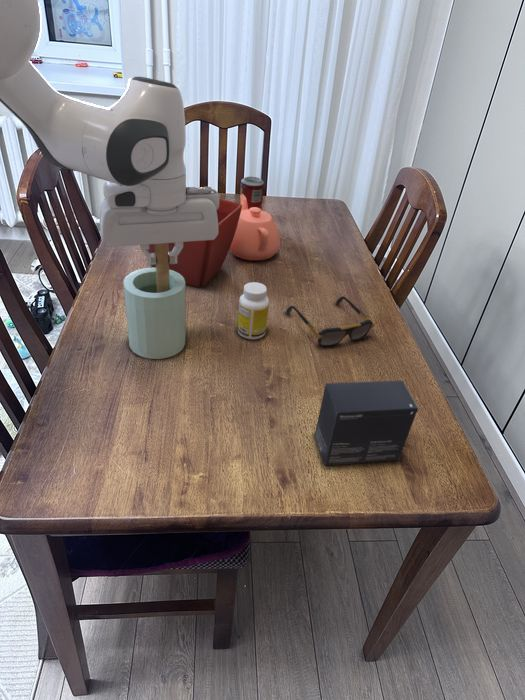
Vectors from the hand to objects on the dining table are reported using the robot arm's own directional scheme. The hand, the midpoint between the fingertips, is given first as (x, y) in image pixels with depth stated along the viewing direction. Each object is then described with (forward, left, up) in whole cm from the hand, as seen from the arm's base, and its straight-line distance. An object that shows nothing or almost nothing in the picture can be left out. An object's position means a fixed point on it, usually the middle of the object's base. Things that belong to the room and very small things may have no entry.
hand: (162, 263), depth 89 cm
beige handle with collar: (0, 0, -11) cm, 11 cm away
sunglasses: (+36, -1, -18) cm, 41 cm away
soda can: (+35, +60, -18) cm, 72 cm away
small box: (+26, -35, -18) cm, 47 cm away
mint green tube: (-2, 0, -18) cm, 18 cm away
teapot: (+29, +38, -18) cm, 51 cm away
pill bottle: (+18, 0, -18) cm, 26 cm away
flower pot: (+10, +28, -18) cm, 35 cm away
